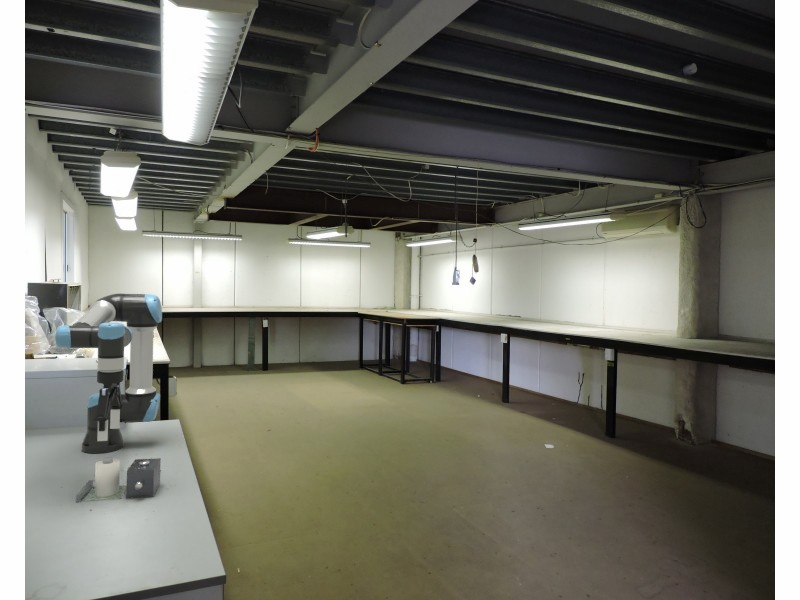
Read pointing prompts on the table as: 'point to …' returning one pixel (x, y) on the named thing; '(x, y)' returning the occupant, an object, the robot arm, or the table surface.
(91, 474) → the table surface
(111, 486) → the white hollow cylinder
